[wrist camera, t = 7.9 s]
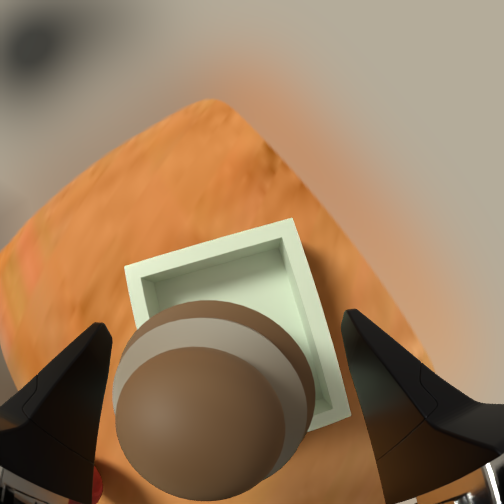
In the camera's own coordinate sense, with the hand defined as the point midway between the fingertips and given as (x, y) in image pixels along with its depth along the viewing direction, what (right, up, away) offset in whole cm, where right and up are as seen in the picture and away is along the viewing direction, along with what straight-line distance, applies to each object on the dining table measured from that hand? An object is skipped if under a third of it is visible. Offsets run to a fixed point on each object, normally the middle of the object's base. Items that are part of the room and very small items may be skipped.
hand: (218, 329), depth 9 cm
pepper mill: (0, -3, +8) cm, 9 cm away
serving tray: (0, -4, +9) cm, 10 cm away
